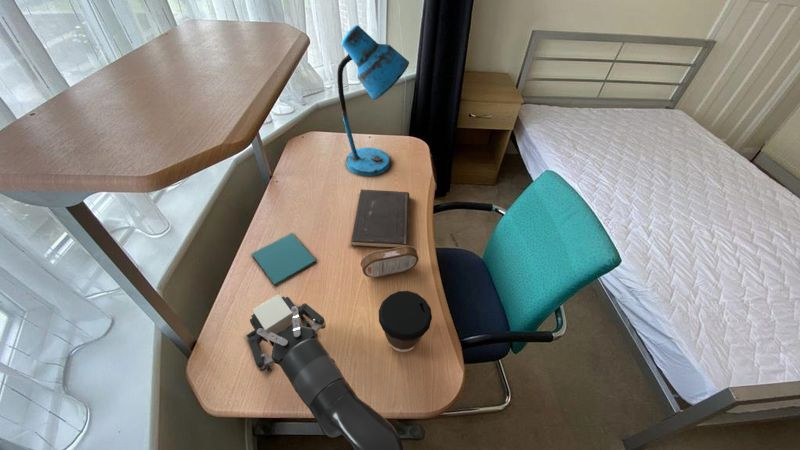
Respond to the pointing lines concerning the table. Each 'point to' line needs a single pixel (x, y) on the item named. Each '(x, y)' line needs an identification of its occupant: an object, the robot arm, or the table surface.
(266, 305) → the container
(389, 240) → the hardcover book
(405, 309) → the coffee cup
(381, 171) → the desk lamp
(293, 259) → the mat
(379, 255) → the tin
